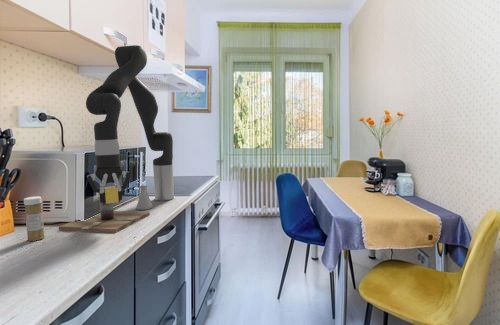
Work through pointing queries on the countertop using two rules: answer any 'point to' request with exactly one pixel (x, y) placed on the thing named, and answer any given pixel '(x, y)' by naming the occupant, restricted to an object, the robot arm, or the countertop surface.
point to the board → (106, 222)
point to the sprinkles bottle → (34, 218)
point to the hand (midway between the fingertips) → (111, 202)
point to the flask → (144, 199)
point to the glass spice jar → (107, 211)
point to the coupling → (110, 194)
